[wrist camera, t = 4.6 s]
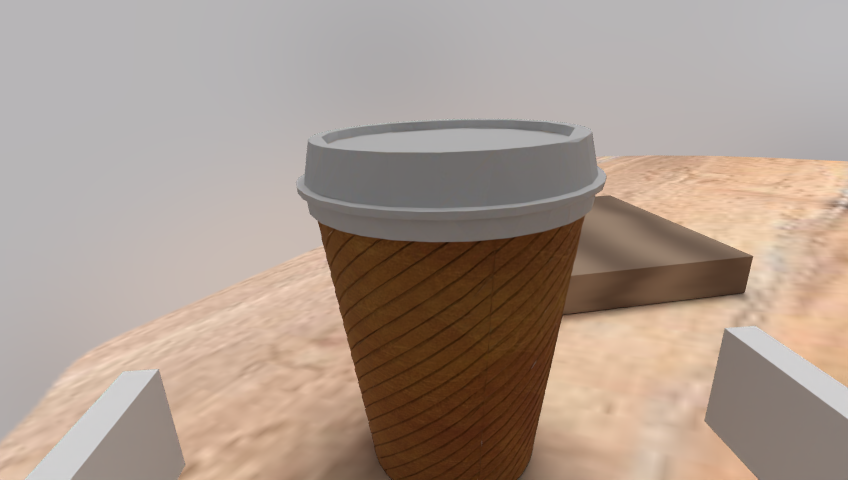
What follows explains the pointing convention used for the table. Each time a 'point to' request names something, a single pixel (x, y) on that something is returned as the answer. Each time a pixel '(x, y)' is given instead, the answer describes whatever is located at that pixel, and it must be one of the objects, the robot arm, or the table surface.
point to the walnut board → (647, 261)
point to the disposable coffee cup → (452, 279)
